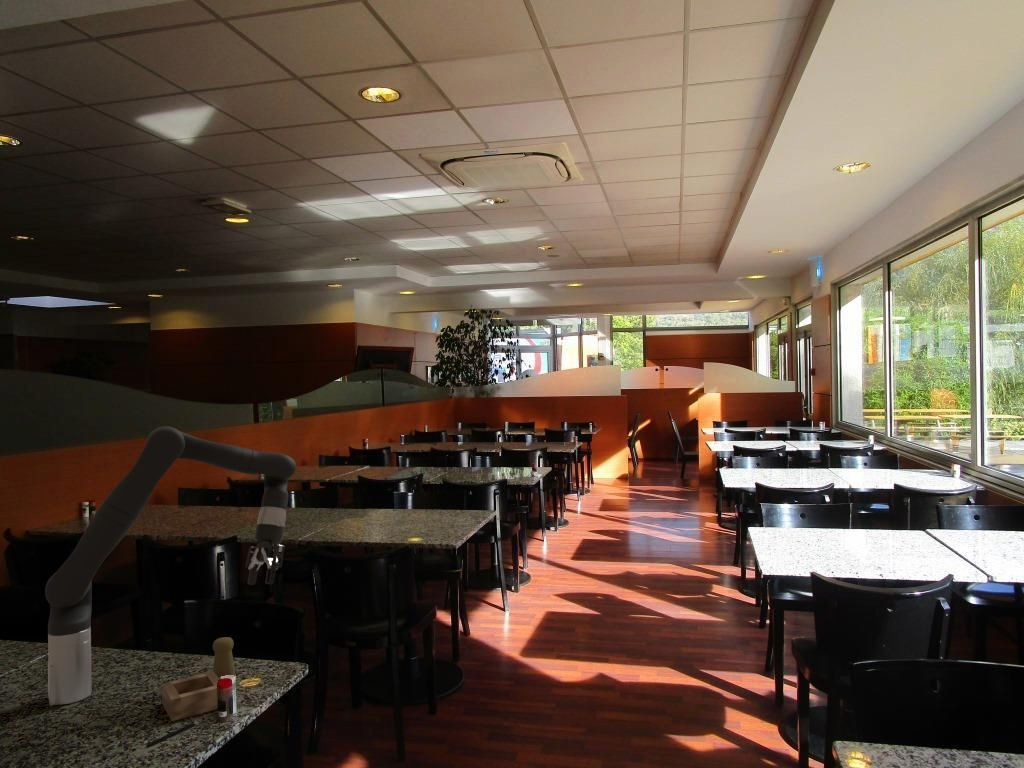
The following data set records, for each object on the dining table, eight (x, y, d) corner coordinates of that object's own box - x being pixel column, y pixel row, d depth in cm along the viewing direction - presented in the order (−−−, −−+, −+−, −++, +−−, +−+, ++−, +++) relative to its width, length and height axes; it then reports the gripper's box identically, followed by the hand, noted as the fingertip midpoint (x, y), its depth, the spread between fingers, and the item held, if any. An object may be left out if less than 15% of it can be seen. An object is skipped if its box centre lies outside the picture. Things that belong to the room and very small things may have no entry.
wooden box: (171, 721, 163) (171, 699, 163) (162, 703, 172) (162, 683, 172) (225, 706, 170) (225, 686, 170) (213, 690, 179) (213, 671, 180)
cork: (227, 684, 183) (226, 643, 183) (206, 683, 184) (206, 641, 185) (240, 675, 189) (239, 635, 189) (220, 674, 190) (219, 634, 190)
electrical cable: (195, 724, 161) (195, 720, 161) (198, 725, 161) (198, 721, 161) (145, 748, 151) (145, 743, 151) (148, 749, 150) (148, 744, 150)
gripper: (245, 524, 198) (233, 583, 192) (273, 520, 190) (262, 582, 184) (267, 528, 204) (257, 586, 198) (296, 525, 195) (286, 585, 189)
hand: (260, 584), depth 191 cm, fingers open, 8 cm apart
